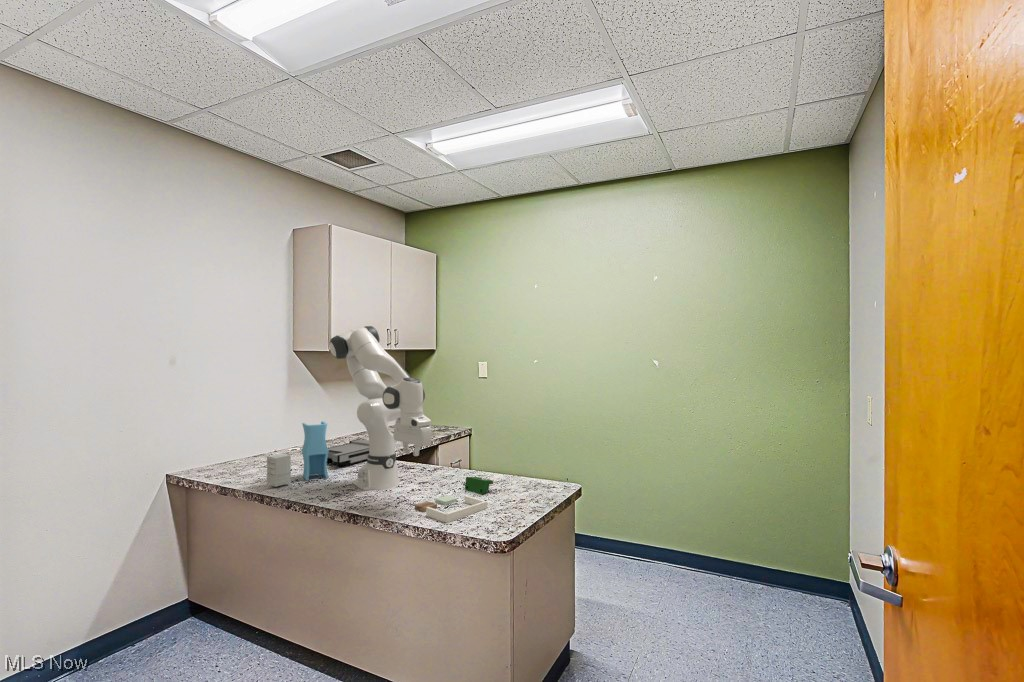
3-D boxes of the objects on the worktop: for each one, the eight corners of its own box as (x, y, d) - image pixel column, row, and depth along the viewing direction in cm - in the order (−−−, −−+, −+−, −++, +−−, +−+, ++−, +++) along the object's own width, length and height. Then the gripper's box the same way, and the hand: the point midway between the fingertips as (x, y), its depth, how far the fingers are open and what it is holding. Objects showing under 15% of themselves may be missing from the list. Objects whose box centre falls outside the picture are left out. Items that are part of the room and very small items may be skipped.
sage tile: (435, 503, 201) (435, 498, 201) (447, 500, 205) (447, 495, 205) (445, 507, 197) (445, 501, 197) (456, 503, 201) (456, 498, 201)
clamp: (488, 502, 214) (497, 483, 213) (478, 502, 210) (487, 483, 209) (471, 486, 222) (480, 468, 221) (461, 486, 218) (470, 467, 217)
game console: (311, 464, 265) (311, 449, 265) (358, 453, 293) (358, 439, 293) (339, 469, 255) (339, 453, 255) (385, 457, 282) (385, 442, 282)
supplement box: (281, 480, 233) (282, 453, 233) (291, 483, 229) (291, 455, 229) (266, 484, 227) (266, 455, 227) (275, 487, 223) (275, 458, 223)
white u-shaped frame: (426, 515, 186) (426, 507, 186) (466, 503, 201) (466, 495, 201) (446, 523, 178) (446, 514, 178) (487, 509, 193) (487, 501, 193)
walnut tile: (414, 510, 194) (414, 504, 194) (427, 506, 198) (427, 501, 198) (424, 513, 190) (424, 508, 190) (437, 509, 194) (437, 504, 194)
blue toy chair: (323, 472, 247) (323, 421, 248) (328, 477, 239) (328, 423, 239) (301, 475, 242) (302, 422, 242) (306, 480, 234) (306, 425, 234)
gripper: (389, 417, 205) (389, 452, 205) (421, 423, 191) (421, 459, 191) (402, 416, 209) (402, 449, 209) (434, 421, 196) (434, 457, 196)
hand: (411, 454), depth 200 cm, fingers open, 4 cm apart
